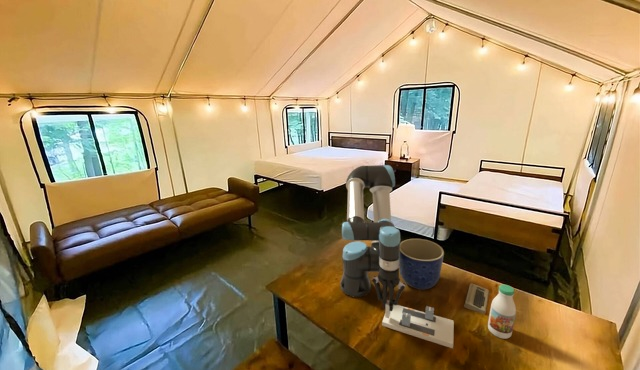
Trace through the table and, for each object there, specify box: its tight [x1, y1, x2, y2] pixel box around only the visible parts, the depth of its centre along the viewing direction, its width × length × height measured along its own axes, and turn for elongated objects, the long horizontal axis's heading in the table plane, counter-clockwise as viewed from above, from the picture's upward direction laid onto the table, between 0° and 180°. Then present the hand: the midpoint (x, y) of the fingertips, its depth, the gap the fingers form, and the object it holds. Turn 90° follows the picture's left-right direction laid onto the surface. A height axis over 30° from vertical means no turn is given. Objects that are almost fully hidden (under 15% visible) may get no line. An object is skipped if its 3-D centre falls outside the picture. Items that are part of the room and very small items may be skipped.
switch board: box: [381, 304, 455, 349], centre depth 106 cm, size 26×12×2 cm, turn 63°
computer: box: [463, 282, 490, 315], centre depth 118 cm, size 16×8×3 cm, turn 144°
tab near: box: [402, 312, 411, 327], centre depth 104 cm, size 3×2×4 cm
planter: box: [399, 238, 445, 290], centre depth 129 cm, size 21×21×19 cm
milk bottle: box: [487, 284, 517, 340], centre depth 99 cm, size 8×8×20 cm
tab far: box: [425, 305, 435, 320], centre depth 106 cm, size 3×2×4 cm
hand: (387, 315), depth 107 cm, fingers closed
